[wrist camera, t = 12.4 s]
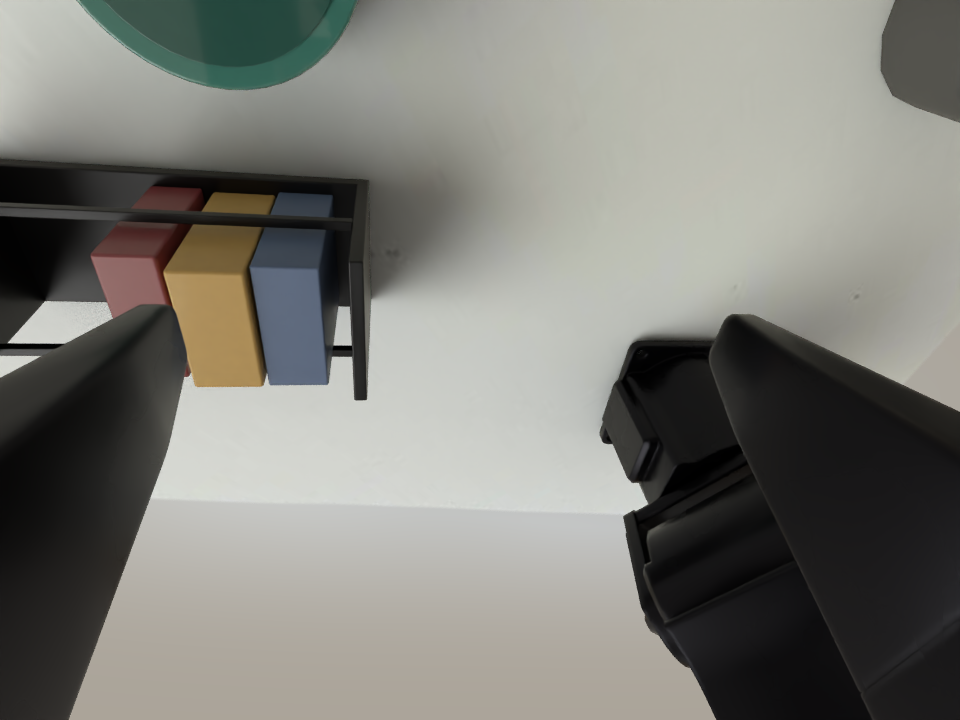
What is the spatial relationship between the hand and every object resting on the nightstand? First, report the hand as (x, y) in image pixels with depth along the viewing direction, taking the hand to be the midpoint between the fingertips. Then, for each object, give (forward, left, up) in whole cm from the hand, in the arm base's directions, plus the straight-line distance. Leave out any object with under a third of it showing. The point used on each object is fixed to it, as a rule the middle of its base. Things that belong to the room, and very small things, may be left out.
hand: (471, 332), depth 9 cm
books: (+6, +4, -11) cm, 14 cm away
